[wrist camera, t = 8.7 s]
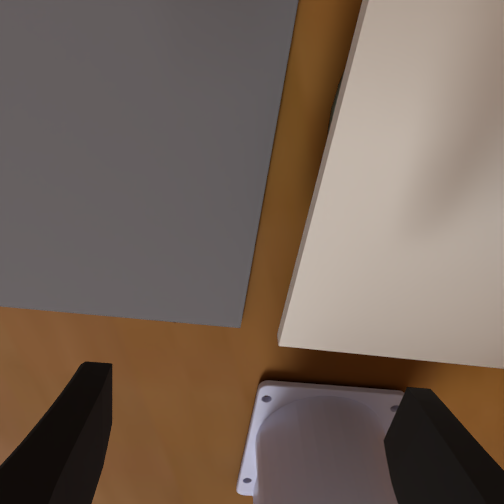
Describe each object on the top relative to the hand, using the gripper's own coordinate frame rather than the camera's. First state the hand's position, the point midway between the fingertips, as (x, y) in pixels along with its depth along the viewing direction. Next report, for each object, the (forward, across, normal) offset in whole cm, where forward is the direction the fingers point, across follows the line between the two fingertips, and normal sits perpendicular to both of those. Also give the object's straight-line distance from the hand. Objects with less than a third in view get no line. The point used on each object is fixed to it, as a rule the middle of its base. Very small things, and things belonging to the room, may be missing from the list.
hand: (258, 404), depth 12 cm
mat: (+10, +8, -3) cm, 13 cm away
